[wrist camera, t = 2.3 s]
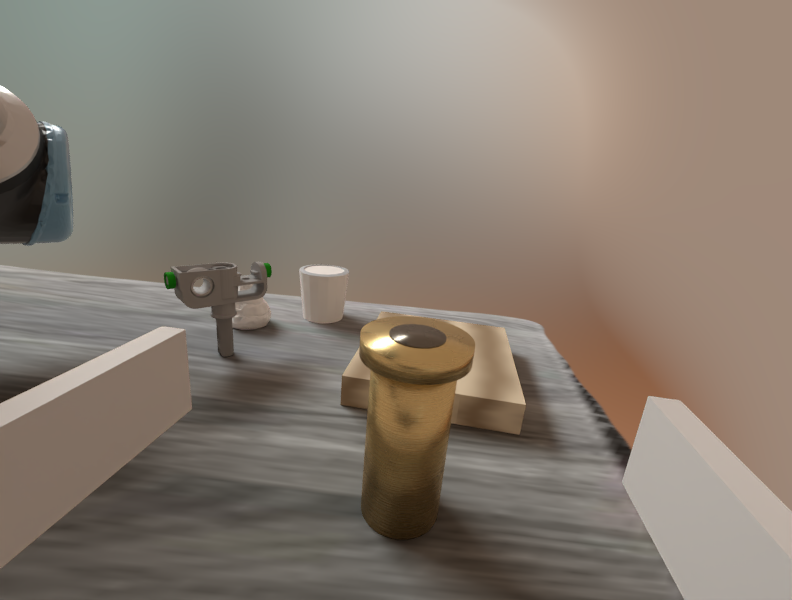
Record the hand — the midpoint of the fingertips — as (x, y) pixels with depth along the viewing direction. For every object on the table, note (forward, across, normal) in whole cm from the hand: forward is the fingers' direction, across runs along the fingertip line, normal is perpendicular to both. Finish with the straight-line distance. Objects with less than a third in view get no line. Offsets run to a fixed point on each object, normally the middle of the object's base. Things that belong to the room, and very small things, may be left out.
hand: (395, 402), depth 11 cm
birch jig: (+30, +1, -14) cm, 33 cm away
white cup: (+42, -16, -14) cm, 47 cm away
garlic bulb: (+36, -24, -14) cm, 45 cm away
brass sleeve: (+11, 0, -14) cm, 18 cm away
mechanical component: (+27, -22, -14) cm, 38 cm away
